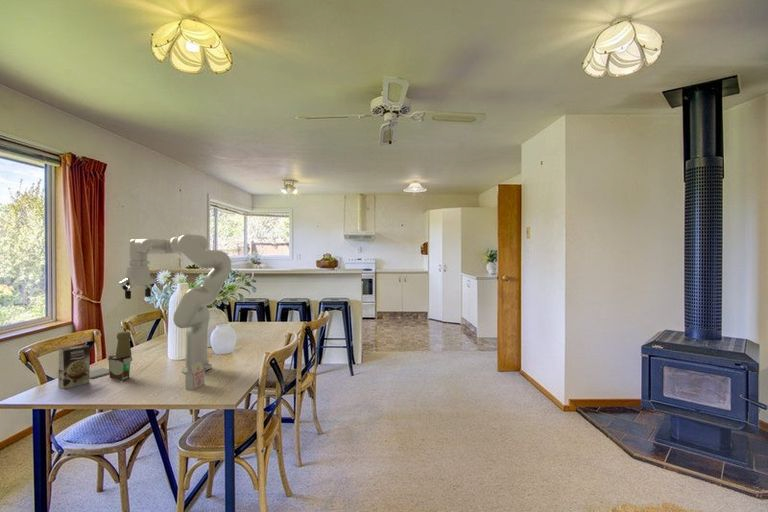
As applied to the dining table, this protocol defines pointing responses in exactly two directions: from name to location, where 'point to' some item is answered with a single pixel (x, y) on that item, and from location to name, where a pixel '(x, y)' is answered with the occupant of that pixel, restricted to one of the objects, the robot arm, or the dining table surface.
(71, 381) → the coffee box
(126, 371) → the food container
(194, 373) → the red printed box
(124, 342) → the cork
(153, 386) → the dining table surface
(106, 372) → the slate coaster
